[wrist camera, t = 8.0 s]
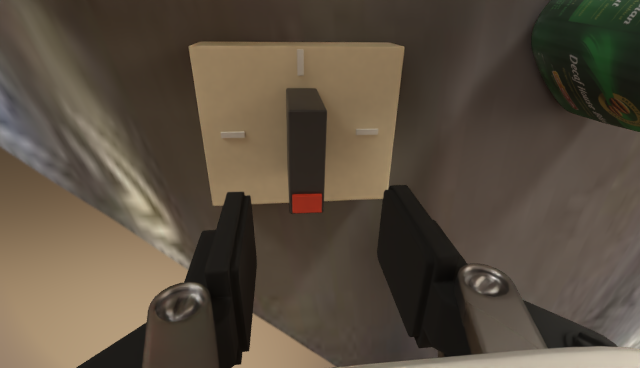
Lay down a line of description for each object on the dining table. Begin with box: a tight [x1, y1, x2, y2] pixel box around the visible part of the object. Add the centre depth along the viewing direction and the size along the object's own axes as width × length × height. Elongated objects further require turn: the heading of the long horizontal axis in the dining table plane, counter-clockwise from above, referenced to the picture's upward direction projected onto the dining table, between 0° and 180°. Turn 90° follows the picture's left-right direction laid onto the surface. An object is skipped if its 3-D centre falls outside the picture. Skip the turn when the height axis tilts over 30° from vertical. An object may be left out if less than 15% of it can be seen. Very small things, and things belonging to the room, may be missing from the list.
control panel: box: [189, 42, 404, 206], centre depth 22 cm, size 12×10×3 cm
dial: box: [286, 88, 327, 214], centre depth 19 cm, size 6×2×5 cm, turn 179°
